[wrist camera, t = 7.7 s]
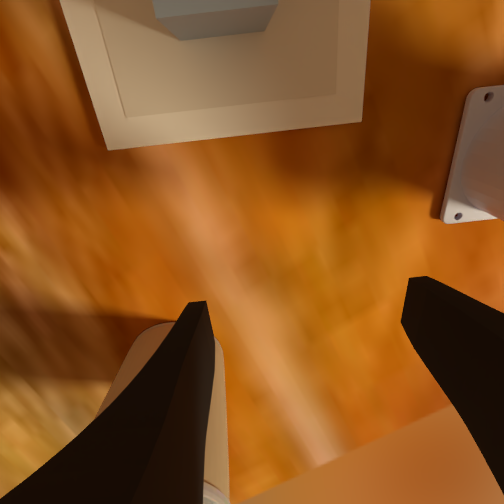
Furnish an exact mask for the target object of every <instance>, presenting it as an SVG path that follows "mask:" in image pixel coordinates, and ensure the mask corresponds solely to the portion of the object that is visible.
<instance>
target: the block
mask: <svg viewBox="0 0 504 504" xmlns="http://www.w3.org/2000/svg"><path fill="white" fill-rule="evenodd" d="M152 1H153V6H154V11H155V16H156V19H157V20H158V21H159V22H161V23H162V24H163V25H164V26H165V27H166V28H167V29H168V30H169V31H170V32H171V33H173V34H174V35H175V36H176V37H177V38H178V39H179V40H180V41H184V40H192V39H201V38H209V37H218V36H226V35H235V34H243V33H252V32H261V31H265V29H266V27H267V25H268V23H269V21H270V19H271V18H272V16H273V14H274V12H275V10H276V8H277V6H278V0H152Z"/></svg>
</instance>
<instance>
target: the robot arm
mask: <svg viewBox="0 0 504 504" xmlns="http://www.w3.org/2000/svg"><path fill="white" fill-rule="evenodd" d="M487 93H488V98H487V100H486V101H484V97H485V95H486V94H487ZM457 213H458V216H456V217H455V215H456V214H457ZM454 217H455V218H454ZM496 218H499V219H501V220H503V221H504V85H496V86H488V87H479V88H475V89H473V90H472V91H470V93H469V94H468V96H467V98H466V102H465V107H464V111H463V116H462V120H461V125H460V129H459V134H458V138H457V143H456V147H455V152H454V156H453V160H452V165H451V169H450V174H449V178H448V183H447V187H446V192H445V196H444V201H443V205H442V210H441V214H440V220H441V221H442V222H444V223H446V224H452V223H461V222H470V221H479V220H488V219H496ZM401 324H402V326H403V328H404V330H405V332H406V334H407V336H408V338H409V340H410V342H411V344H412V345H413V347H414V349H415V350H416V352H417V353H418V355H419V356H420V358H421V359H422V361H423V362H424V364H425V365H426V367H427V368H428V370H429V371H430V372H431V374H432V375H433V377H434V378H435V380H436V381H437V382H438V384H439V385H440V387H441V388H442V390H443V391H444V393H445V394H446V395H447V397H448V398H449V400H450V401H451V403H452V404H453V405H454V407H455V408H456V410H457V412H458V413H459V415H460V416H461V418H462V419H463V421H464V423H465V424H466V426H467V428H468V430H469V431H470V433H471V435H472V437H473V438H474V440H475V442H476V444H477V446H478V447H479V449H480V451H481V453H482V454H483V456H484V458H485V460H486V462H487V464H488V466H489V468H490V469H491V471H492V473H493V475H494V477H495V479H496V481H497V483H498V484H499V486H500V488H501V490H502V492H503V494H504V313H502V312H500V311H498V310H496V309H494V308H491V307H489V306H487V305H485V304H483V303H481V302H479V301H477V300H475V299H473V298H471V297H469V296H467V295H465V294H463V293H461V292H459V291H457V290H455V289H453V288H451V287H449V286H447V285H445V284H443V283H441V282H439V281H437V280H435V279H432V278H430V277H428V276H422V277H413V278H409V281H408V286H407V292H406V297H405V302H404V307H403V313H402V318H401ZM214 373H215V339H214V334H213V330H212V325H211V321H210V316H209V312H208V307H207V303H206V301H198V302H189V303H188V304H187V305H186V307H185V309H184V310H183V312H182V313H181V315H180V316H179V318H178V320H177V321H176V323H175V324H174V326H173V327H172V329H171V330H170V332H169V333H168V334H167V336H166V337H165V339H164V340H163V341H162V343H161V344H160V346H159V347H158V348H157V350H156V351H155V353H154V354H153V355H152V356H151V358H150V359H149V360H148V361H147V363H146V364H145V365H144V367H143V368H142V369H141V370H140V372H139V373H138V374H137V375H136V376H135V377H134V379H133V380H132V381H131V382H130V383H129V384H128V386H127V387H126V388H125V389H124V390H123V391H122V392H121V393H120V394H119V395H118V397H117V398H116V399H115V400H114V401H113V402H112V403H111V404H110V405H109V406H108V407H107V408H106V409H105V410H104V411H103V412H102V413H101V414H100V415H99V416H98V417H97V418H96V419H95V420H93V421H92V422H91V423H90V424H89V425H88V426H87V427H86V428H85V429H84V430H83V431H82V432H81V433H80V434H79V435H78V436H77V437H75V438H74V439H73V440H72V441H71V442H70V443H69V444H67V445H66V446H65V447H64V448H63V449H62V450H61V451H59V452H58V453H57V454H56V455H55V456H53V457H52V458H51V459H50V460H49V461H48V462H46V463H45V464H44V465H43V466H42V467H40V468H39V469H38V470H37V471H35V472H34V473H33V474H32V475H31V476H29V477H28V478H27V479H25V480H24V481H23V482H22V483H20V484H19V485H18V486H16V487H15V488H14V489H12V490H11V491H10V492H9V493H7V494H6V495H5V496H3V497H2V498H1V499H0V504H203V487H204V463H205V445H206V435H207V427H208V419H209V412H210V404H211V397H212V389H213V381H214Z"/></svg>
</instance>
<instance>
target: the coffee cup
mask: <svg viewBox="0 0 504 504" xmlns="http://www.w3.org/2000/svg"><path fill="white" fill-rule="evenodd" d="M175 323H176V322H168V323H162V324H158V325H155V326H152V327H150V328H148V329H147V330H145V331H143V332H142V333H141V334H140V335H139V336H138V337H137V338H136V340H135V341H134V343H133V345H132V346H131V348H130V350H129V352H128V354H127V356H126V358H125V360H124V361H123V363H122V365H121V367H120V369H119V371H118V373H117V375H116V377H115V379H114V381H113V383H112V385H111V387H110V389H109V391H108V393H107V395H106V397H105V399H104V401H103V403H102V405H101V407H100V409H99V411H98V413H97V415H96V417H95V419H96V418H97V417H98V416H99V415H100V414H101V413H102V412H103V411H104V410H105V409H106V408H107V407H108V406H109V405H110V404H111V403H112V402H113V401H114V400H115V399H116V398H117V397H118V395H119V394H120V393H121V392H122V391H123V390H124V389H125V388H126V387H127V386H128V384H129V383H130V382H131V381H132V380H133V379H134V377H135V376H136V375H137V374H138V373H139V372H140V370H141V369H142V368H143V367H144V365H145V364H146V363H147V361H148V360H149V359H150V358H151V356H152V355H153V354H154V353H155V351H156V350H157V348H158V347H159V346H160V344H161V343H162V341H163V340H164V339H165V337H166V336H167V334H168V333H169V332H170V330H171V329H172V327H173V326H174V324H175ZM214 339H215V373H214V381H213V389H212V397H211V404H210V412H209V419H208V427H207V435H206V445H205V463H204V487H203V504H230V502H229V462H228V438H227V414H226V393H225V371H224V357H223V351H222V348H221V346H220V344H219V342H218V341H217V339H216V338H215V337H214ZM95 419H94V420H95Z"/></svg>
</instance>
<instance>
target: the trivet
mask: <svg viewBox="0 0 504 504" xmlns="http://www.w3.org/2000/svg"><path fill="white" fill-rule="evenodd" d="M370 3H371V0H278V6H277V8H276V10H275V12H274V14H273V16H272V18H271V19H270V21H269V23H268V25H267V27H266V29H265V31H261V32H252V33H243V34H235V35H226V36H218V37H209V38H201V39H192V40H184V41H180V40H179V39H178V38H177V37H176V36H175V35H174V34H173V33H171V32H170V31H169V30H168V29H167V28H166V27H165V26H164V25H163V24H162V23H161V22H159V21H158V20H157V19H156V16H155V11H154V6H153V1H152V0H60V4H61V7H62V10H63V13H64V16H65V19H66V22H67V25H68V28H69V31H70V35H71V38H72V41H73V44H74V47H75V50H76V53H77V56H78V59H79V62H80V66H81V69H82V72H83V75H84V78H85V81H86V84H87V87H88V90H89V93H90V97H91V100H92V103H93V106H94V109H95V112H96V115H97V118H98V121H99V124H100V128H101V131H102V134H103V137H104V140H105V143H106V146H107V149H108V150H117V149H126V148H135V147H144V146H152V145H161V144H170V143H179V142H188V141H197V140H205V139H214V138H223V137H232V136H241V135H249V134H258V133H267V132H276V131H285V130H294V129H302V128H311V127H320V126H329V125H338V124H347V123H355V122H362V111H363V98H364V84H365V71H366V57H367V44H368V30H369V17H370Z"/></svg>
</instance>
